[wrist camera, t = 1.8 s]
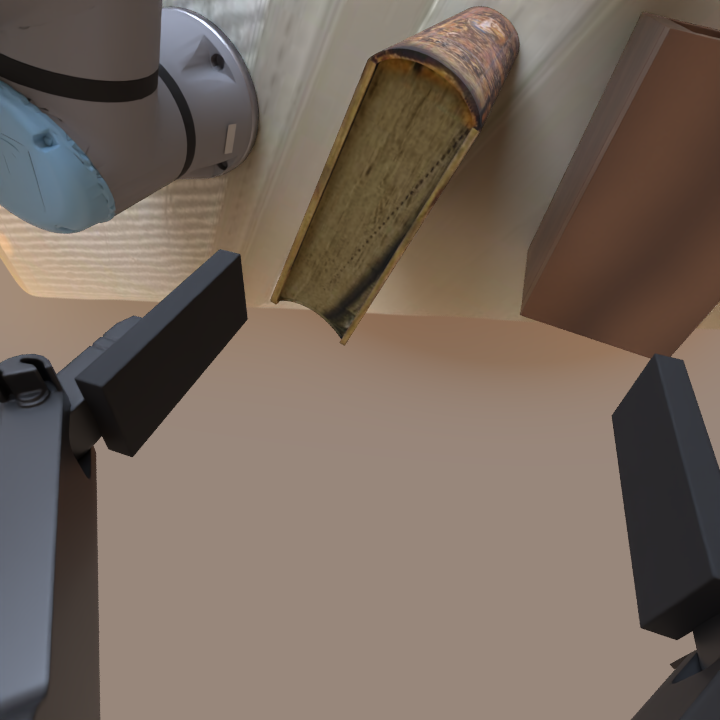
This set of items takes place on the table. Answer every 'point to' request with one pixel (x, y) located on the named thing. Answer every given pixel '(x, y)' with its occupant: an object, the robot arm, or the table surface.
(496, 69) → the book
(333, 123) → the table surface
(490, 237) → the table surface
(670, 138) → the shelf
